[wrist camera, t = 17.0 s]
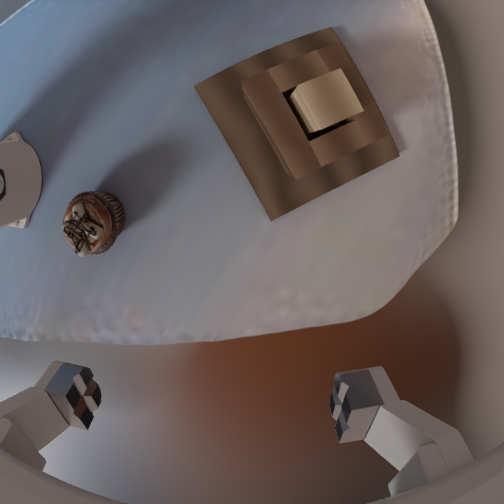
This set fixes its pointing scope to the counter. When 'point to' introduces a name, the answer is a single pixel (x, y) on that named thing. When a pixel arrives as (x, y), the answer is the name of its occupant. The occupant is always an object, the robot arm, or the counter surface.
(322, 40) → the post block
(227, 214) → the counter surface
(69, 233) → the cupcake
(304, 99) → the rail end
